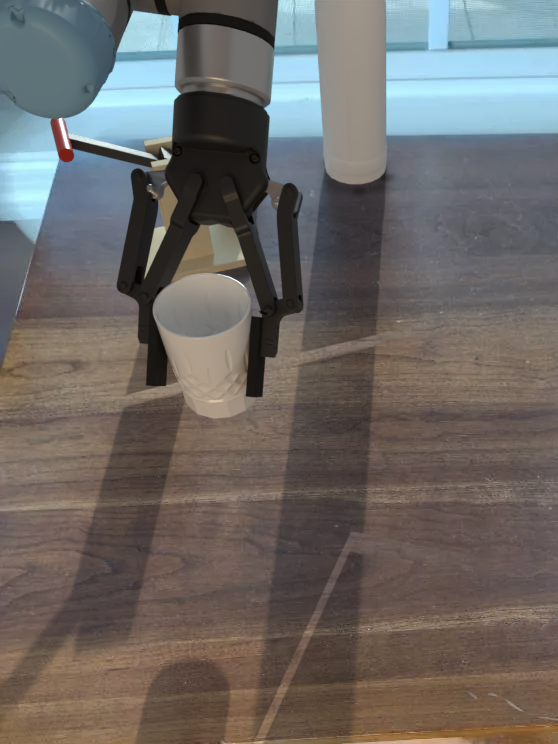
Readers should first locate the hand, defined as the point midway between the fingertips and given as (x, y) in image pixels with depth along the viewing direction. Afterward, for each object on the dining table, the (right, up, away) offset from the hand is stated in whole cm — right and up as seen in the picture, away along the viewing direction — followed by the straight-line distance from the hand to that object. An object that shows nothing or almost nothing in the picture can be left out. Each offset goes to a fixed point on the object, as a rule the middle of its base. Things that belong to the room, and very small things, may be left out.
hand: (205, 390), depth 73 cm
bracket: (-8, +20, +26) cm, 34 cm away
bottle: (+11, +34, +37) cm, 52 cm away
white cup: (0, +1, +5) cm, 5 cm away
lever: (-12, +26, +15) cm, 32 cm away
